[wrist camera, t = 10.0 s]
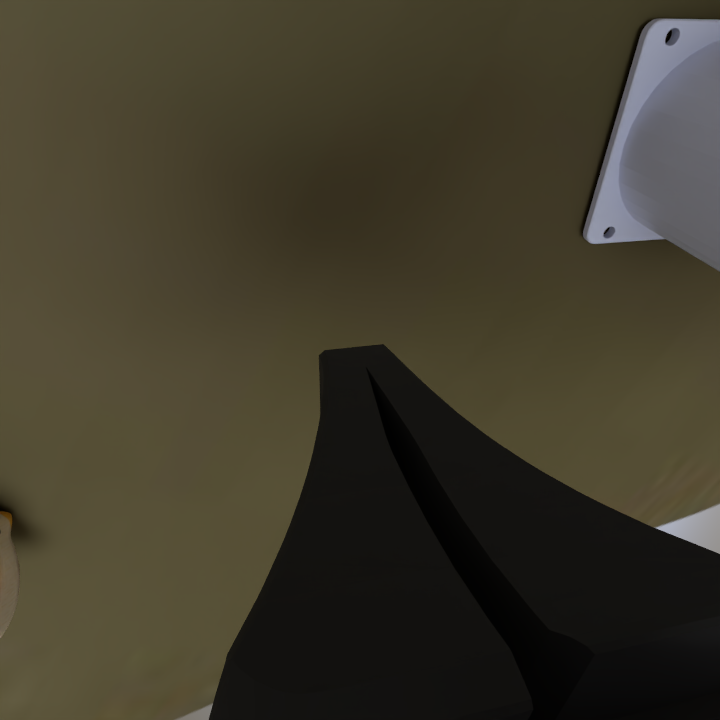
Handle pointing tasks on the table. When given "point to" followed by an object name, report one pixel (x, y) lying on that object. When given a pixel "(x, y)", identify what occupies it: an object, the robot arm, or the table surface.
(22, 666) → the table surface
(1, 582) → the bird rattle
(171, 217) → the table surface
